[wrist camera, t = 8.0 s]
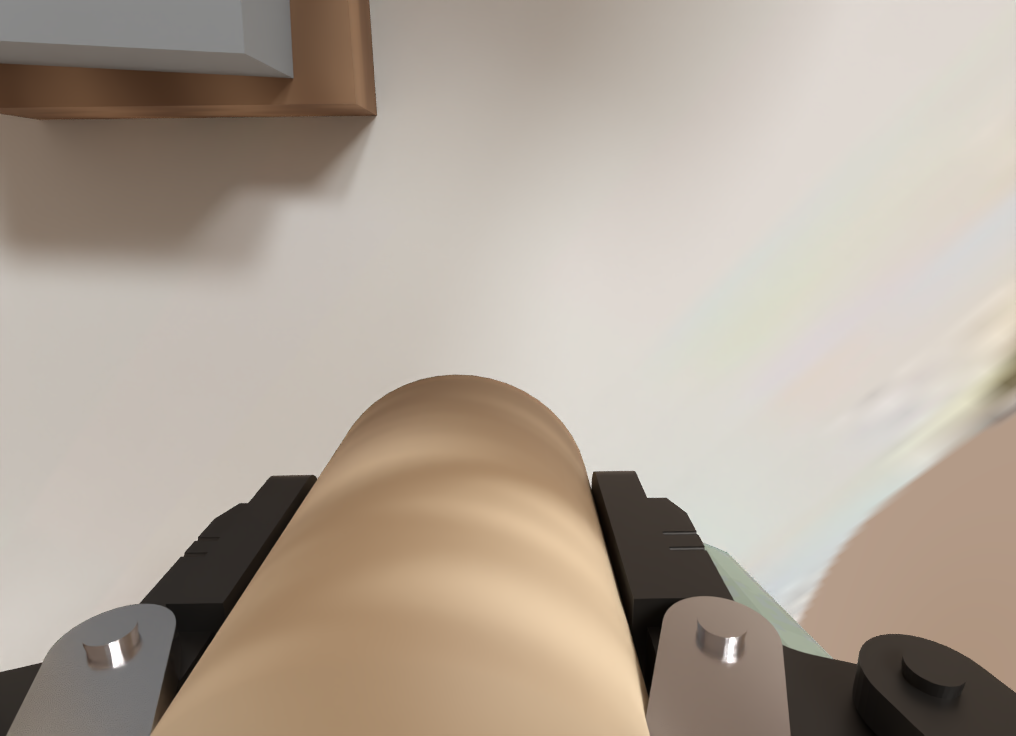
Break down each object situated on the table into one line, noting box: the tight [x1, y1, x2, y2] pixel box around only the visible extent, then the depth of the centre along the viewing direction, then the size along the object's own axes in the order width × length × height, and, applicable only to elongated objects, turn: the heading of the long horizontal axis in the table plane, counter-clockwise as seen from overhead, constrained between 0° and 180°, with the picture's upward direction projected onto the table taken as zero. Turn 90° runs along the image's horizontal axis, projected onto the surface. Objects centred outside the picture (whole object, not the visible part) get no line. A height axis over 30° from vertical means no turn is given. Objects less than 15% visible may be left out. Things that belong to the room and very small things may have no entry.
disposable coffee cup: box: [703, 543, 833, 659], centre depth 31 cm, size 11×11×15 cm
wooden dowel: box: [150, 375, 650, 736], centre depth 8 cm, size 5×5×7 cm
